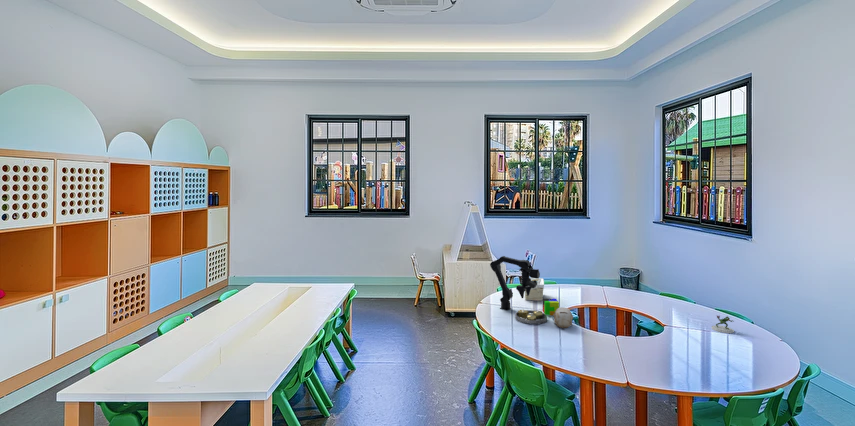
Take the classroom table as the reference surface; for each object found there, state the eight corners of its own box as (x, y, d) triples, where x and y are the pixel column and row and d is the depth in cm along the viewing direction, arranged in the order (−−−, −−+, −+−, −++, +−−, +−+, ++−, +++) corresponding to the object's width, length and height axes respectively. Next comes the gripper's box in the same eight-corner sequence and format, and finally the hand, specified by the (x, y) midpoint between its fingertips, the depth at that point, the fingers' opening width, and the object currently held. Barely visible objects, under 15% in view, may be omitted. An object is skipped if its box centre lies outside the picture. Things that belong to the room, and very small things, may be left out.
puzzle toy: (555, 311, 299) (556, 298, 298) (558, 315, 289) (559, 302, 288) (542, 311, 300) (542, 298, 299) (545, 315, 290) (545, 302, 289)
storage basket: (525, 292, 350) (525, 276, 349) (543, 294, 345) (543, 277, 344) (524, 300, 327) (524, 283, 326) (544, 302, 322) (544, 284, 321)
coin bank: (564, 319, 281) (565, 301, 279) (580, 330, 265) (581, 311, 262) (545, 322, 276) (546, 305, 274) (560, 333, 260) (562, 315, 258)
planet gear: (516, 316, 286) (516, 311, 286) (521, 313, 292) (521, 308, 292) (525, 318, 282) (525, 313, 281) (530, 315, 287) (530, 310, 287)
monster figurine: (724, 334, 251) (725, 318, 250) (707, 327, 262) (707, 313, 261) (738, 332, 254) (739, 317, 253) (720, 325, 265) (721, 311, 265)
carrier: (509, 319, 282) (509, 313, 281) (524, 311, 298) (524, 305, 298) (538, 326, 267) (538, 319, 267) (551, 318, 284) (551, 311, 284)
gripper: (529, 281, 283) (529, 301, 284) (540, 276, 297) (540, 296, 298) (515, 278, 290) (515, 299, 292) (527, 274, 305) (527, 293, 306)
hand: (525, 296), depth 297 cm, fingers open, 9 cm apart
